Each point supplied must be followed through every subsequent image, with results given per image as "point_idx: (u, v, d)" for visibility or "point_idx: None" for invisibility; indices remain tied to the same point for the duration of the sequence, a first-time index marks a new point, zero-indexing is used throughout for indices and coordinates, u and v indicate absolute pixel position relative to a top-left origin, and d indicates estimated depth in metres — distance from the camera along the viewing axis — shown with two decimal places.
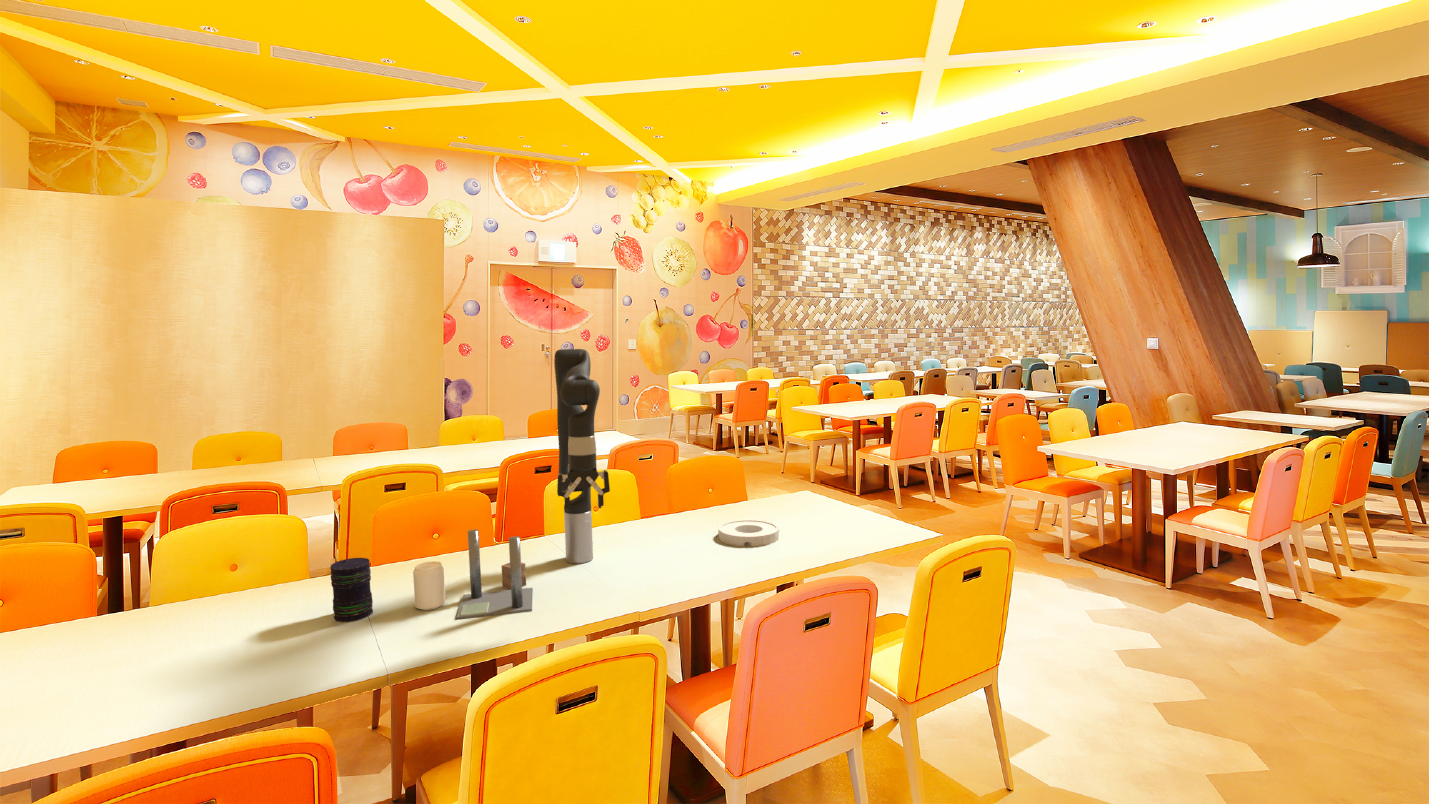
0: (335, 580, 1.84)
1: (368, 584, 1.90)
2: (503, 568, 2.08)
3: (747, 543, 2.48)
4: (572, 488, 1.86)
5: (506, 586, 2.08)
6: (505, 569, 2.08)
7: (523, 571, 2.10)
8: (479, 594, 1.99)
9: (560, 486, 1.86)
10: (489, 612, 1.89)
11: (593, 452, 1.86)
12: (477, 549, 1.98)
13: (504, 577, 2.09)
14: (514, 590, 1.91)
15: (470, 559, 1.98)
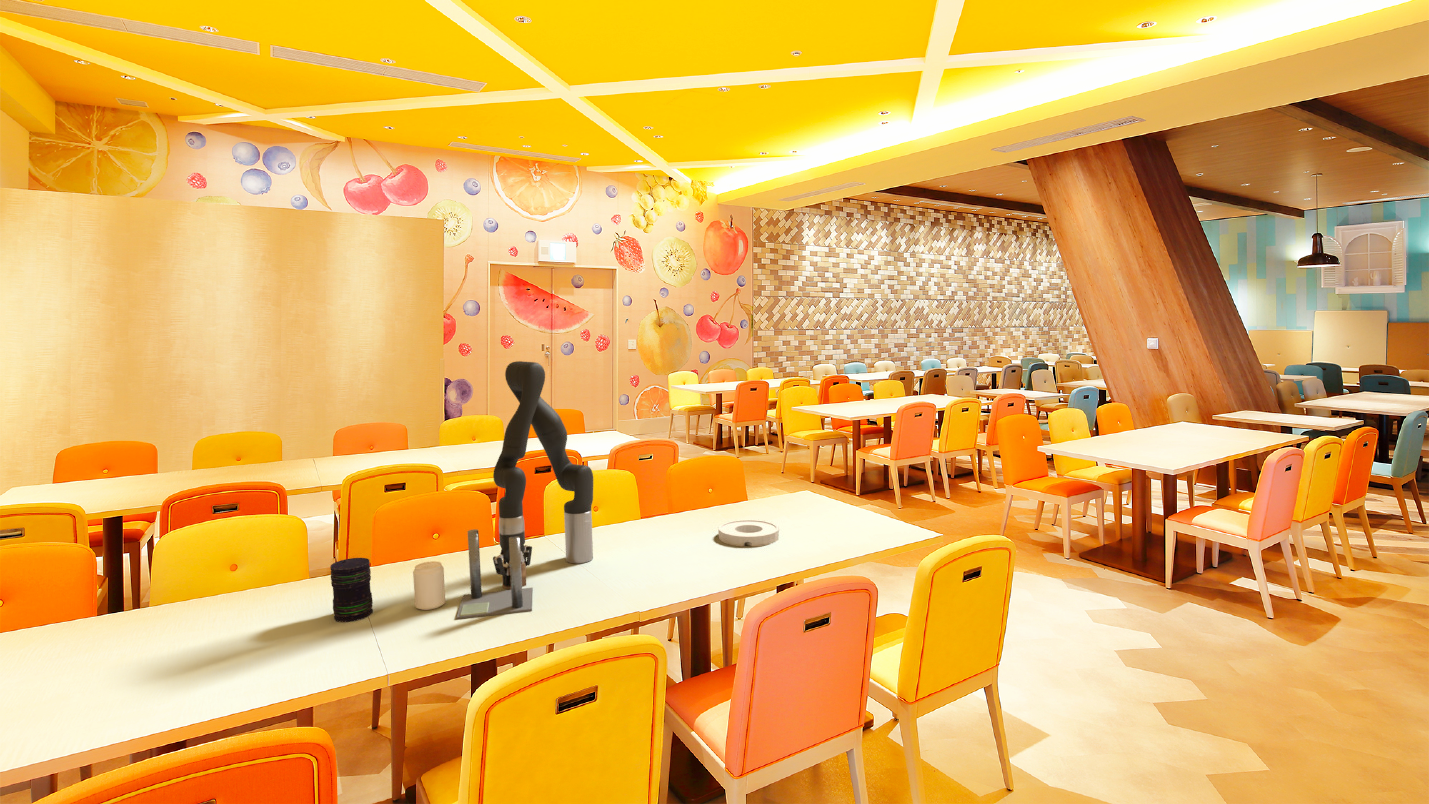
0: (335, 580, 1.84)
1: (368, 584, 1.90)
2: None
3: (747, 543, 2.48)
4: None
5: None
6: None
7: (523, 571, 2.10)
8: (479, 594, 1.99)
9: (502, 567, 2.04)
10: (489, 612, 1.89)
11: (524, 528, 2.10)
12: (476, 549, 1.98)
13: None
14: (514, 590, 1.91)
15: (470, 559, 1.98)
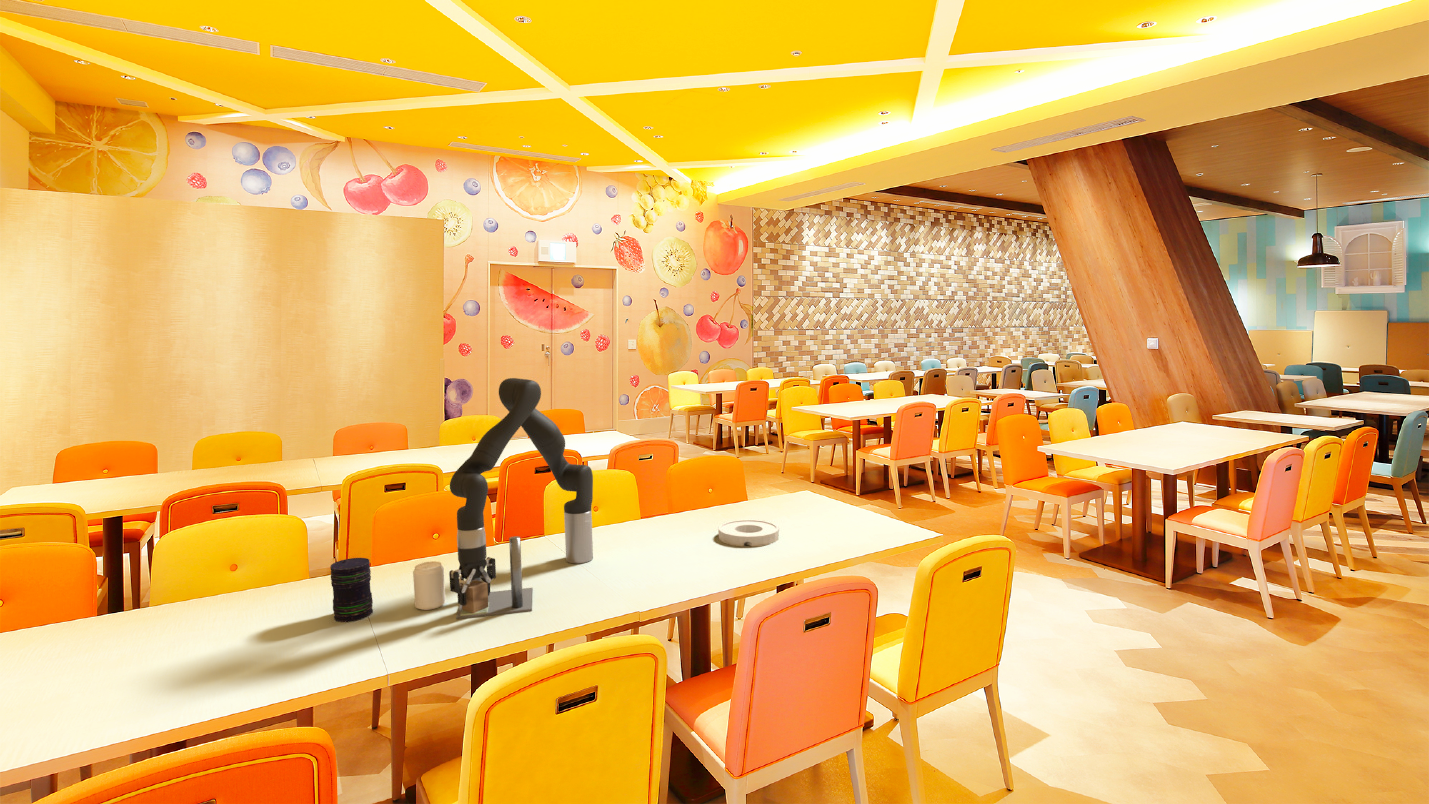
0: (335, 580, 1.84)
1: (368, 584, 1.90)
2: None
3: (747, 543, 2.48)
4: (468, 581, 1.87)
5: (466, 608, 1.89)
6: None
7: (485, 591, 1.91)
8: None
9: (457, 583, 1.84)
10: (489, 612, 1.89)
11: (485, 541, 1.90)
12: None
13: None
14: (514, 590, 1.91)
15: None
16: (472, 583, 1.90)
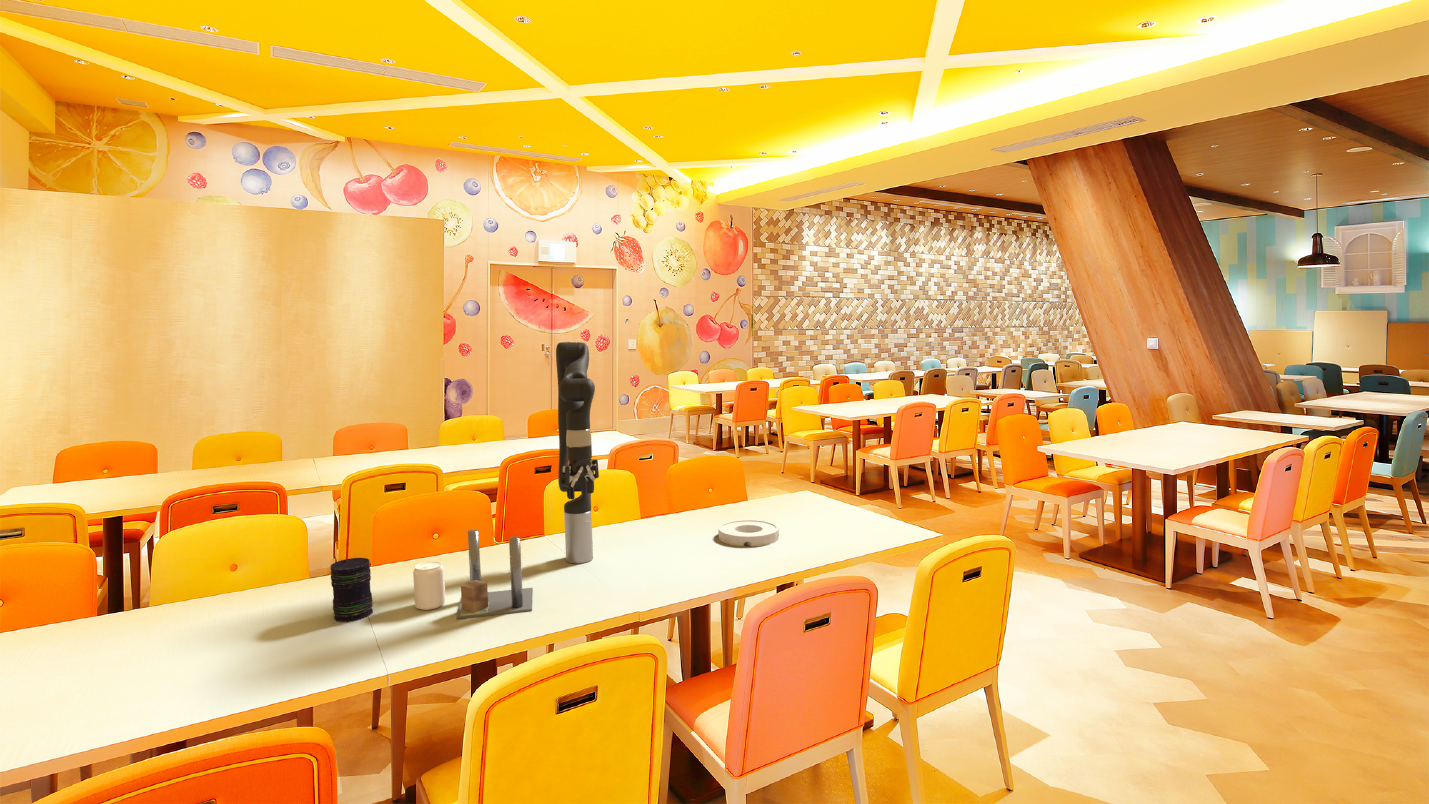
0: (335, 580, 1.84)
1: (368, 584, 1.90)
2: (462, 588, 1.89)
3: (747, 543, 2.48)
4: (577, 477, 2.04)
5: (466, 608, 1.89)
6: (464, 589, 1.89)
7: (485, 591, 1.91)
8: None
9: (568, 477, 2.01)
10: (489, 612, 1.89)
11: None
12: (477, 549, 1.98)
13: (463, 598, 1.89)
14: (514, 590, 1.91)
15: (470, 559, 1.98)
16: (472, 583, 1.90)
